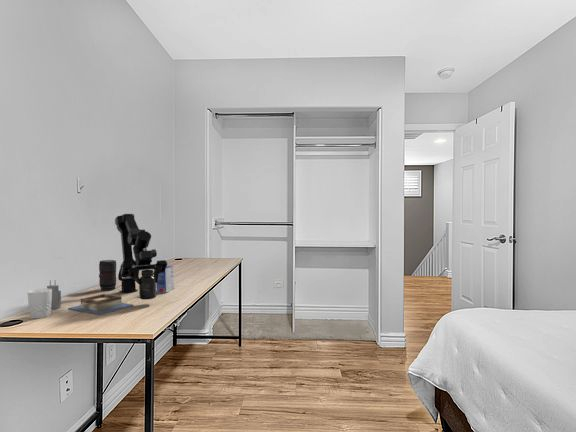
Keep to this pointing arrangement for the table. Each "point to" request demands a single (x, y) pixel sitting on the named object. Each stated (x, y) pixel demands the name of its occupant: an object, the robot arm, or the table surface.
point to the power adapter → (55, 296)
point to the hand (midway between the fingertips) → (148, 283)
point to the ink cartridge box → (165, 280)
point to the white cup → (40, 302)
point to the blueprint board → (78, 308)
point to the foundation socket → (101, 302)
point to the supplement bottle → (147, 285)
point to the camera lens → (107, 274)
